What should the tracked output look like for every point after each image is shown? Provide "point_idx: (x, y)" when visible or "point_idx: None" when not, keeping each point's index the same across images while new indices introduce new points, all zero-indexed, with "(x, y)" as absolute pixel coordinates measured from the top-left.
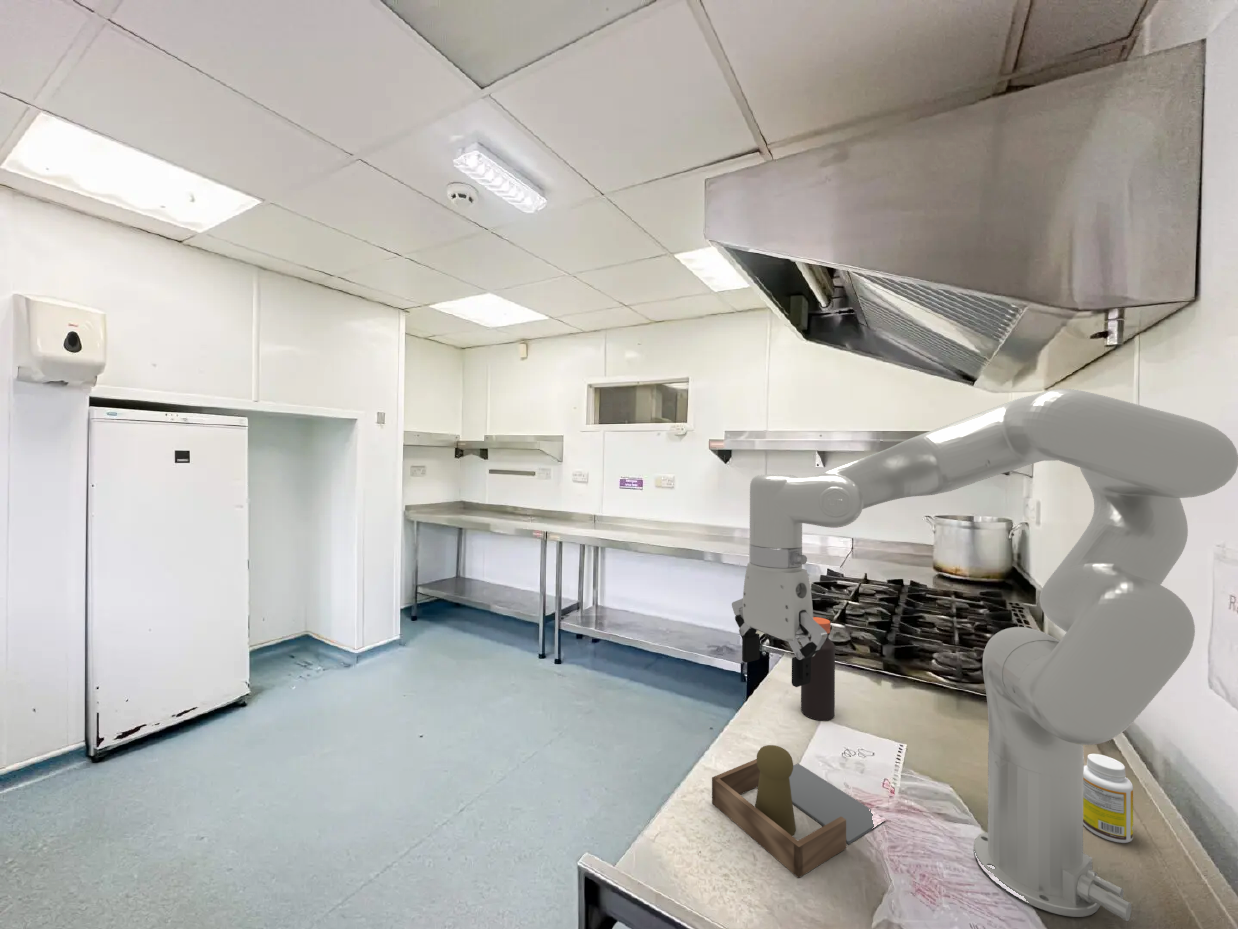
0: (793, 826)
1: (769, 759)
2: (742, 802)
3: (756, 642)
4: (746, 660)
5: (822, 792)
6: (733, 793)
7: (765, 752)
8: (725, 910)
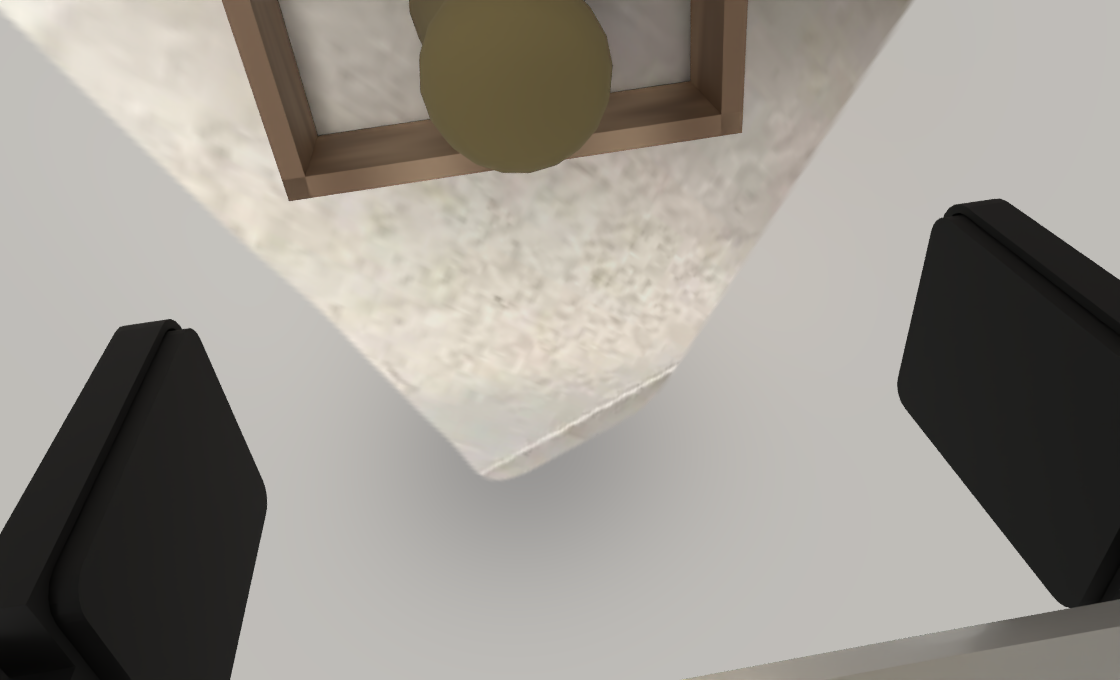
0: None
1: (557, 158)
2: (473, 172)
3: (144, 552)
4: (265, 510)
5: None
6: (414, 176)
7: (512, 151)
8: (678, 326)
